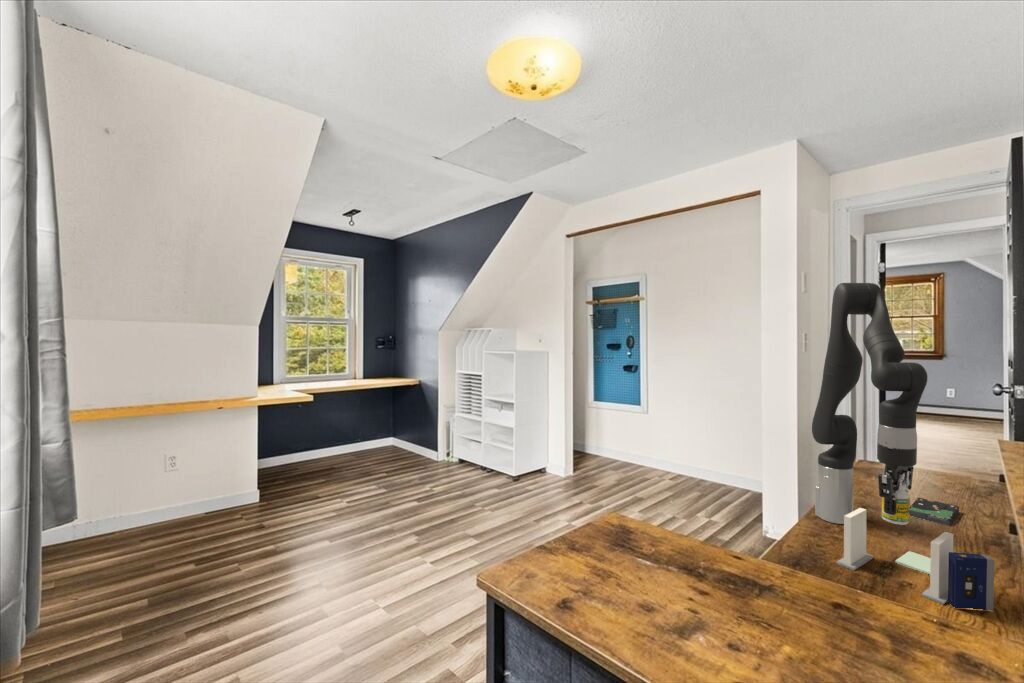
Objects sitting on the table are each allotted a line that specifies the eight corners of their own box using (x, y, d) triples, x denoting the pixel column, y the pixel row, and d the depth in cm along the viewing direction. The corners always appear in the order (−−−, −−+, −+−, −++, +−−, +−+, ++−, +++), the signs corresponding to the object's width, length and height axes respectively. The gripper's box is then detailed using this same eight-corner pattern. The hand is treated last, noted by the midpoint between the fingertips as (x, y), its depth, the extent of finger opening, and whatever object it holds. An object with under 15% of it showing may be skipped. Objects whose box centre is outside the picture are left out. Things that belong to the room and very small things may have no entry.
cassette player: (954, 609, 103) (955, 555, 102) (947, 602, 105) (948, 550, 105) (994, 612, 101) (995, 558, 101) (986, 606, 104) (987, 553, 103)
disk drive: (917, 505, 159) (906, 517, 150) (917, 497, 159) (907, 508, 150) (959, 514, 151) (950, 527, 142) (959, 505, 151) (951, 518, 142)
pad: (895, 563, 122) (895, 560, 122) (909, 553, 127) (909, 551, 127) (940, 578, 115) (940, 576, 115) (953, 567, 119) (953, 565, 119)
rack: (836, 563, 123) (836, 515, 122) (856, 551, 128) (856, 505, 128) (944, 605, 104) (945, 548, 104) (961, 588, 110) (962, 534, 110)
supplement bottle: (892, 514, 119) (893, 477, 119) (915, 523, 114) (916, 485, 113) (875, 517, 118) (876, 479, 117) (897, 526, 113) (898, 487, 112)
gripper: (890, 435, 122) (889, 499, 123) (865, 444, 114) (864, 512, 115) (927, 441, 115) (925, 508, 116) (903, 452, 108) (901, 523, 109)
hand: (895, 510), depth 116 cm, fingers closed on supplement bottle, 5 cm apart
